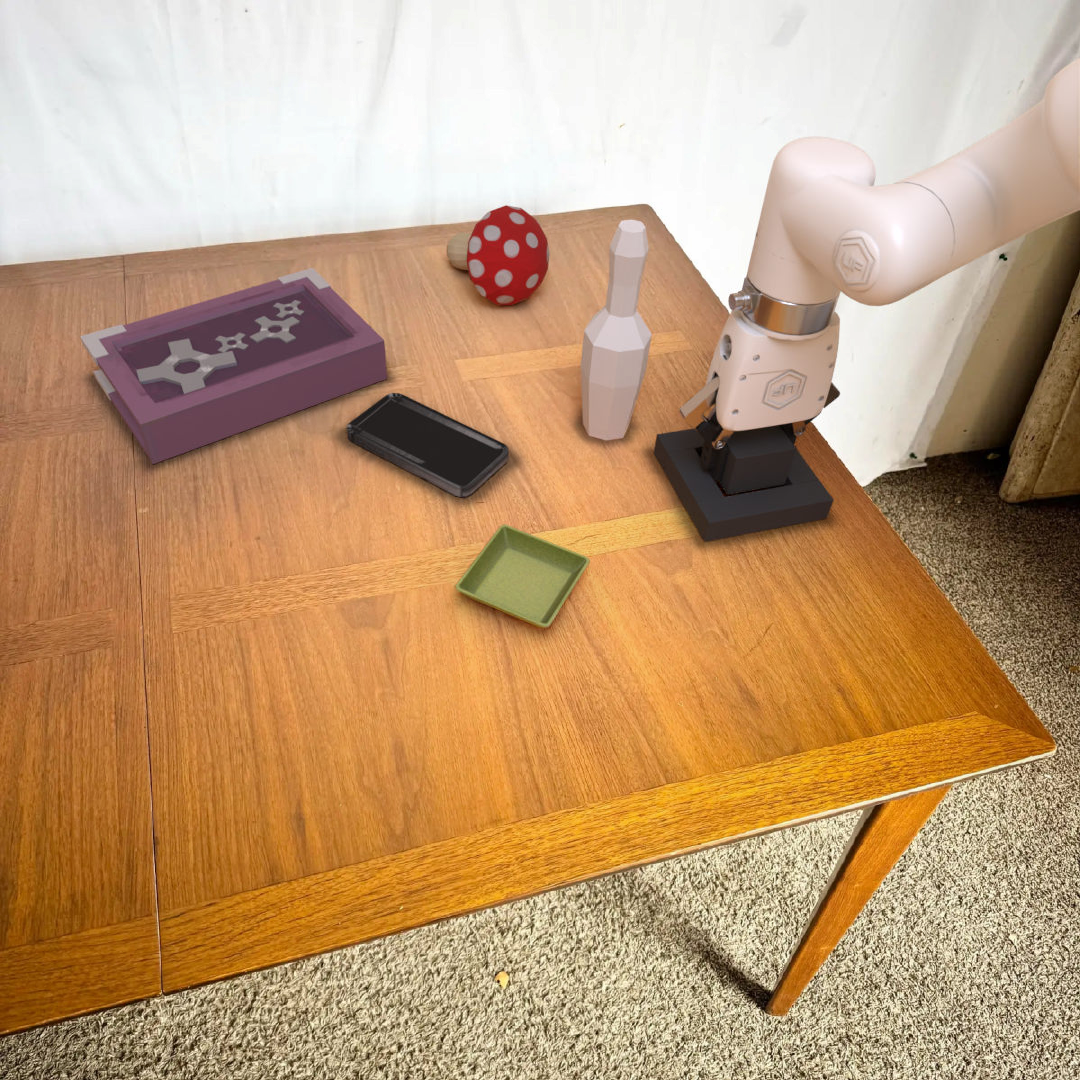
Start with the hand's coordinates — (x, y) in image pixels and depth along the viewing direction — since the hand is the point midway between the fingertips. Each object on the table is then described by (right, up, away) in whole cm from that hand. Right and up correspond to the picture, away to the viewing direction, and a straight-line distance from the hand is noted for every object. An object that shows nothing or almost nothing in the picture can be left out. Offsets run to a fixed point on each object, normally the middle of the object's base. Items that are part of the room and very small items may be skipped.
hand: (743, 464), depth 91 cm
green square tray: (-21, -12, -9) cm, 25 cm away
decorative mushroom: (-25, +24, +25) cm, 42 cm away
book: (-50, +10, +10) cm, 52 cm away
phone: (-30, +2, +3) cm, 31 cm away
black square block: (0, 0, 0) cm, 1 cm away
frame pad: (0, -2, +2) cm, 3 cm away
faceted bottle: (-13, +4, +7) cm, 15 cm away
